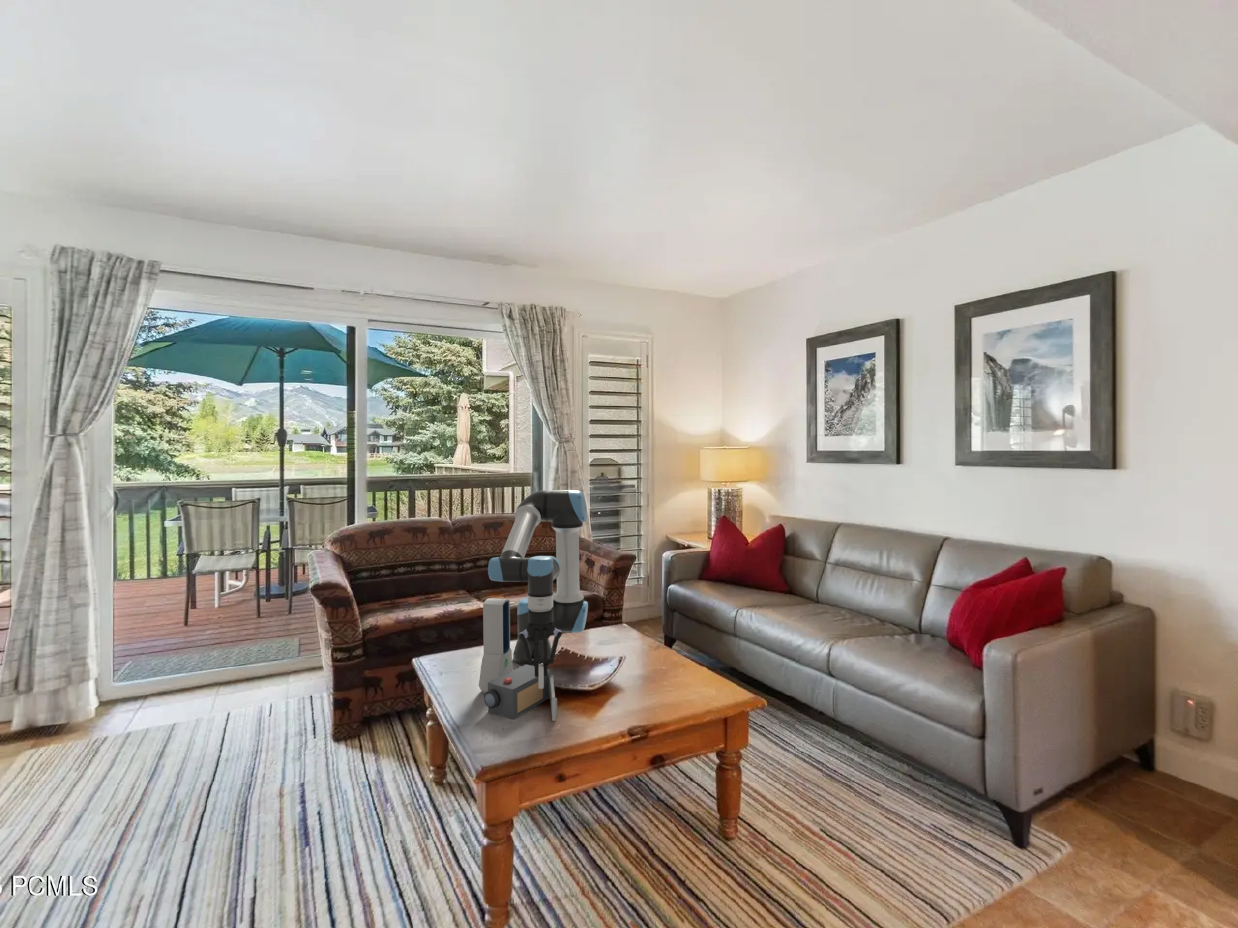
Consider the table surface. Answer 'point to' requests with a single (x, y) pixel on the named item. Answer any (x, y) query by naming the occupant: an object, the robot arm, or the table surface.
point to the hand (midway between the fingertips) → (541, 686)
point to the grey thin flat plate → (552, 697)
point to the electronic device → (495, 641)
